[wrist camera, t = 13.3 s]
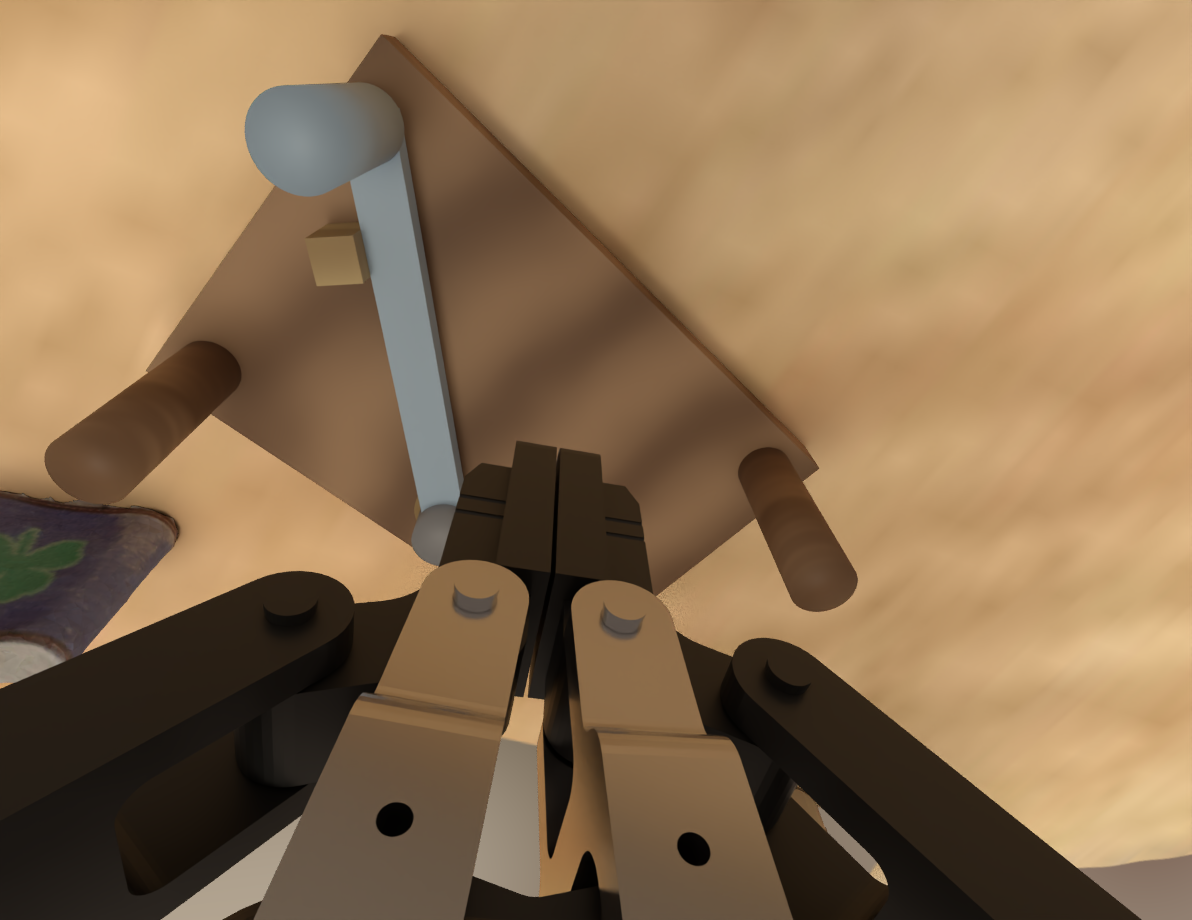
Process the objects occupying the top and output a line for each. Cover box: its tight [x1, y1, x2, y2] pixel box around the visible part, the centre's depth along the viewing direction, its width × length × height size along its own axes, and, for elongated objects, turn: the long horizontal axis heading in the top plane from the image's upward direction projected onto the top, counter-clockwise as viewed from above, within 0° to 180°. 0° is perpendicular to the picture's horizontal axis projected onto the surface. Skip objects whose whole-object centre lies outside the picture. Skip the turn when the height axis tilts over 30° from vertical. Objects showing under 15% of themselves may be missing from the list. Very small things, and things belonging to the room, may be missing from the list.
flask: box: [0, 491, 178, 683], centre depth 28 cm, size 9×3×11 cm, turn 79°
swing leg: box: [245, 82, 464, 566], centre depth 23 cm, size 18×3×8 cm, turn 3°
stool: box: [45, 34, 858, 612], centre depth 26 cm, size 24×16×10 cm, turn 46°
